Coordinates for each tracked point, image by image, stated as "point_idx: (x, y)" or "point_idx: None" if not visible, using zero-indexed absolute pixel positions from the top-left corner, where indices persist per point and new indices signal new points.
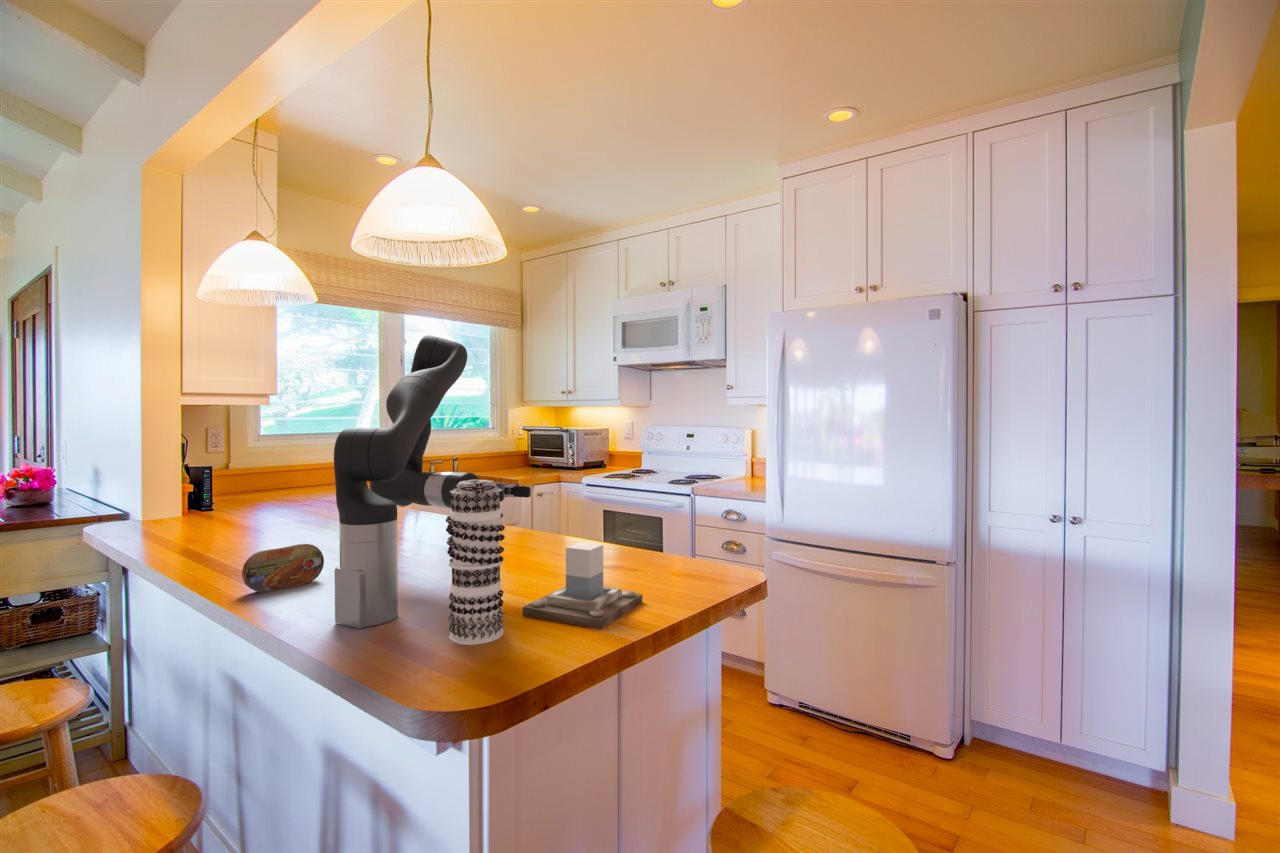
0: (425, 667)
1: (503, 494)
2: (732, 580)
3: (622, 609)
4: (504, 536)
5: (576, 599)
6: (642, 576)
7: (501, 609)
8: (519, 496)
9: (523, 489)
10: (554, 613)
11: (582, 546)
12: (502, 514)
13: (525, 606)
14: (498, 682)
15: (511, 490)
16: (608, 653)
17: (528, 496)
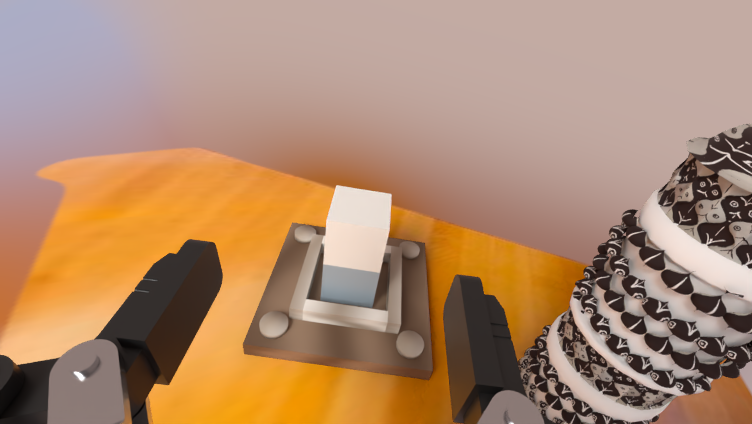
0: (684, 406)
1: (453, 286)
2: (160, 159)
3: None
4: (603, 243)
5: (395, 273)
6: (114, 257)
7: (525, 356)
8: (192, 336)
9: (197, 279)
10: (428, 307)
11: (366, 208)
12: (629, 210)
13: (428, 366)
14: None
15: (131, 390)
16: (479, 231)
17: (220, 278)
